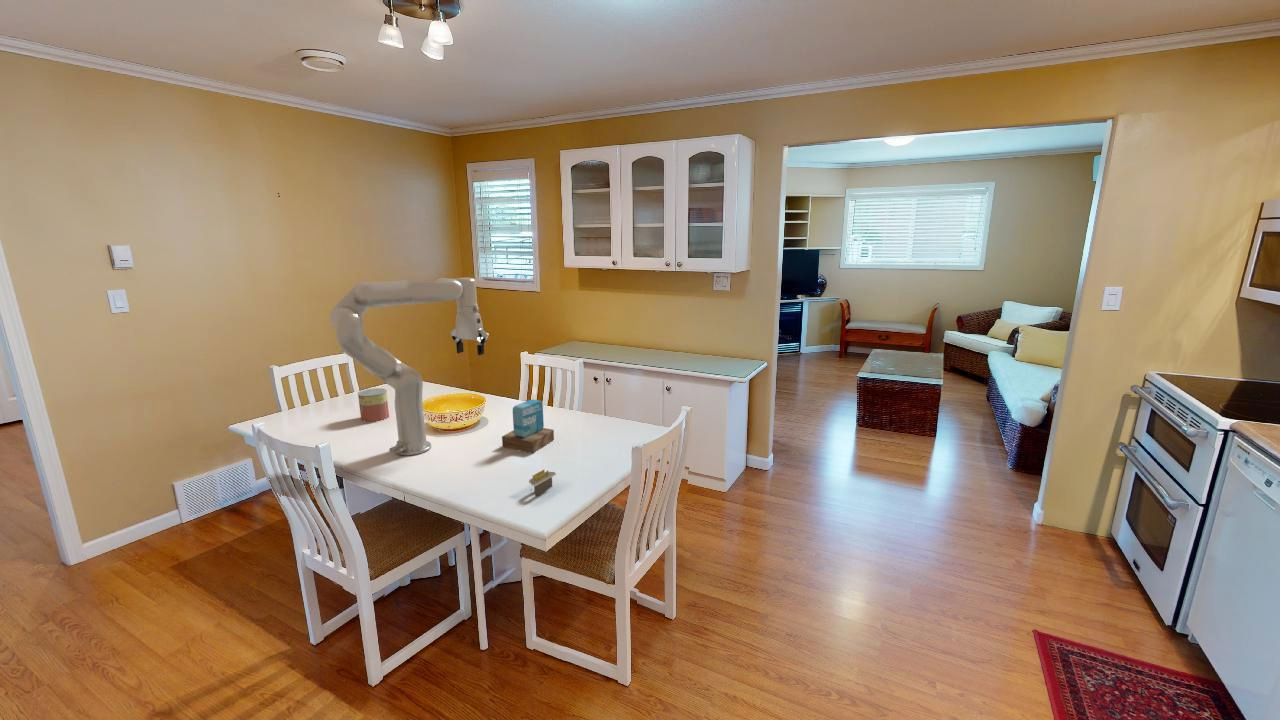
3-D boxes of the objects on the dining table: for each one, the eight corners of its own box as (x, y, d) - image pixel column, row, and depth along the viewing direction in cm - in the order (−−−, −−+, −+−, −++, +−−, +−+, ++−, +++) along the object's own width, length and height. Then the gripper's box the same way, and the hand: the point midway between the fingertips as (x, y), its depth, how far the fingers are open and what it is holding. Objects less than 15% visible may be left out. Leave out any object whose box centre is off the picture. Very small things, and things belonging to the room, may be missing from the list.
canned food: (361, 416, 244) (358, 390, 241) (389, 412, 249) (386, 387, 246) (360, 424, 234) (357, 397, 231) (389, 420, 239) (386, 393, 236)
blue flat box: (522, 439, 206) (520, 408, 203) (513, 436, 208) (511, 406, 205) (544, 429, 215) (542, 400, 213) (535, 427, 218) (534, 398, 215)
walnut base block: (533, 454, 204) (533, 442, 203) (502, 448, 209) (501, 436, 208) (554, 441, 216) (553, 429, 215) (524, 436, 222) (523, 424, 221)
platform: (507, 498, 170) (506, 479, 169) (546, 477, 185) (545, 458, 184) (537, 508, 164) (536, 488, 163) (574, 485, 179) (573, 466, 178)
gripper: (492, 310, 212) (494, 353, 216) (455, 307, 218) (458, 350, 222) (480, 312, 205) (483, 357, 209) (442, 310, 211) (446, 353, 215)
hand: (470, 353), depth 216 cm, fingers open, 9 cm apart
